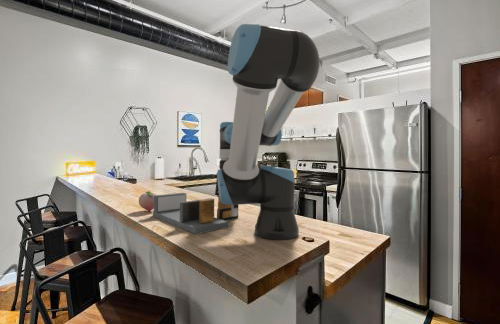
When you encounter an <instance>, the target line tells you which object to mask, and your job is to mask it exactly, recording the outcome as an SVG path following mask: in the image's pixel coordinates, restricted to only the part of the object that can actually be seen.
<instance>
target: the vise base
mask: <svg viewBox="0 0 500 324" xmlns="http://www.w3.org/2000/svg"><path fill="white" fill-rule="evenodd" d="M186 201H187V192H186V193H185V192H179V193H178V192H177V193H167V194H166V193H165V194H156V195H154V209H153V210H152V217H155V218H157V219H160V220H162V221H164V222H167V223H168V224H171V225H173V226H176V227H178V228H180V229H183V230H185V231H187V232H189V233H192V234H194V235H198V234H203V233H206V232H212V231H216V230H220V229H224V228H225V229H226V228H228V227H229V220H227V221H224V220H221V219H218V218H217V217H215V216H214V221H212V222H207V223H199V219H198V220H192V221H187V222H180V202H186Z"/></svg>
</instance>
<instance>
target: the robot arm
mask: <svg viewBox="0 0 500 324" xmlns="http://www.w3.org/2000/svg"><path fill="white" fill-rule="evenodd" d="M227 57H228V58H227V60H228V61H227V72H228V74H230V75H232V82H233V83H234V86H236V88H237V89H236V98H235V106H234V114H233V121H223V122H220V124H219V159H220V160H219V169H218V170H217V172H216V183H215V189H214V194H215V196H217V199H219V196H220V201H221V202H222V203H223V204H226V205H232V206H231V216H232V217H234V216H238V217H239V205H258V204H259V207H260V208H259V209H260V210H259V212H258V216H257V220H256V223H255V225H254V234H255V235H256V236H258V237H260V238H264V239H268V240H269V239H270V240H277V239H283V240H288V239H287V238H291V239H294V237H295V238H297V237H298V236H299V230H300V229H299V226H298V221H297V218H296V215H295V184H296V182H295V181H296V180H295V172H294V170H292V169H291V168H284V167H277V166H269V165H263V164H262V165H261V166H260V168H259V166H258V165H257V159H258V153H259V148H260V146H266V147H271V146H278V145H280V144H281V142H282V141H281V140H282V134H283V133H282V128H283V126H284V125H285V123H286V121H287V119H289V116H290V115H291V113H292V112H293V111H294V108H295V107H296V105H297V104H298V102H299V101H300V99H301V98H302V96H303V95H304V93H306V92H308V91H310V89H311V88H312V87H313V85H314V83H315V81H316V79H317V78H318V74H319V70H320V55H319V51H318V48H317V46H316V44H315V41H314V40H313V39H312V38H311V37H310V36H309V35H308V34H306V33H304V32H303V31H301V30H297V29H287V28H281V27H280V28H279V27H275V26H269V25H262V24H259V23H257V24H253V23H243V24H240V25H239V26H238V27H237V28H236V30H235V32H234V33H233V36H232V39H231V43H230V46H229V51H228V56H227ZM278 80H280V82H279V85H278ZM277 85H278V86H277ZM275 89H276V91H275V92H274V95H273V97H272V99H271V101H270V102H269V96H270V93H271V92H272V91H274V90H275ZM268 102H269V105H268Z"/></svg>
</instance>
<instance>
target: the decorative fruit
mask: <svg viewBox="0 0 500 324" xmlns="http://www.w3.org/2000/svg"><path fill="white" fill-rule="evenodd" d="M154 195H157V194H156V193H154V192H152V191H145V192H144V193H142V194H140V196H139V197H138V204H139V206H140V207H141V208H142V209H144V210H147V211H148V212H151V211H153V210H154Z"/></svg>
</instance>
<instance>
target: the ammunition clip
mask: <svg viewBox="0 0 500 324" xmlns="http://www.w3.org/2000/svg"><path fill="white" fill-rule="evenodd" d="M217 199H218V198H217ZM231 206H232V205H226V204H223V203H222V202H221V201H220V196H219V199H218V201H217V209H216V218H218V219H221V220H224V221H230V220H235V219H239V215H238V216H234V217H232V216H231Z"/></svg>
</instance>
